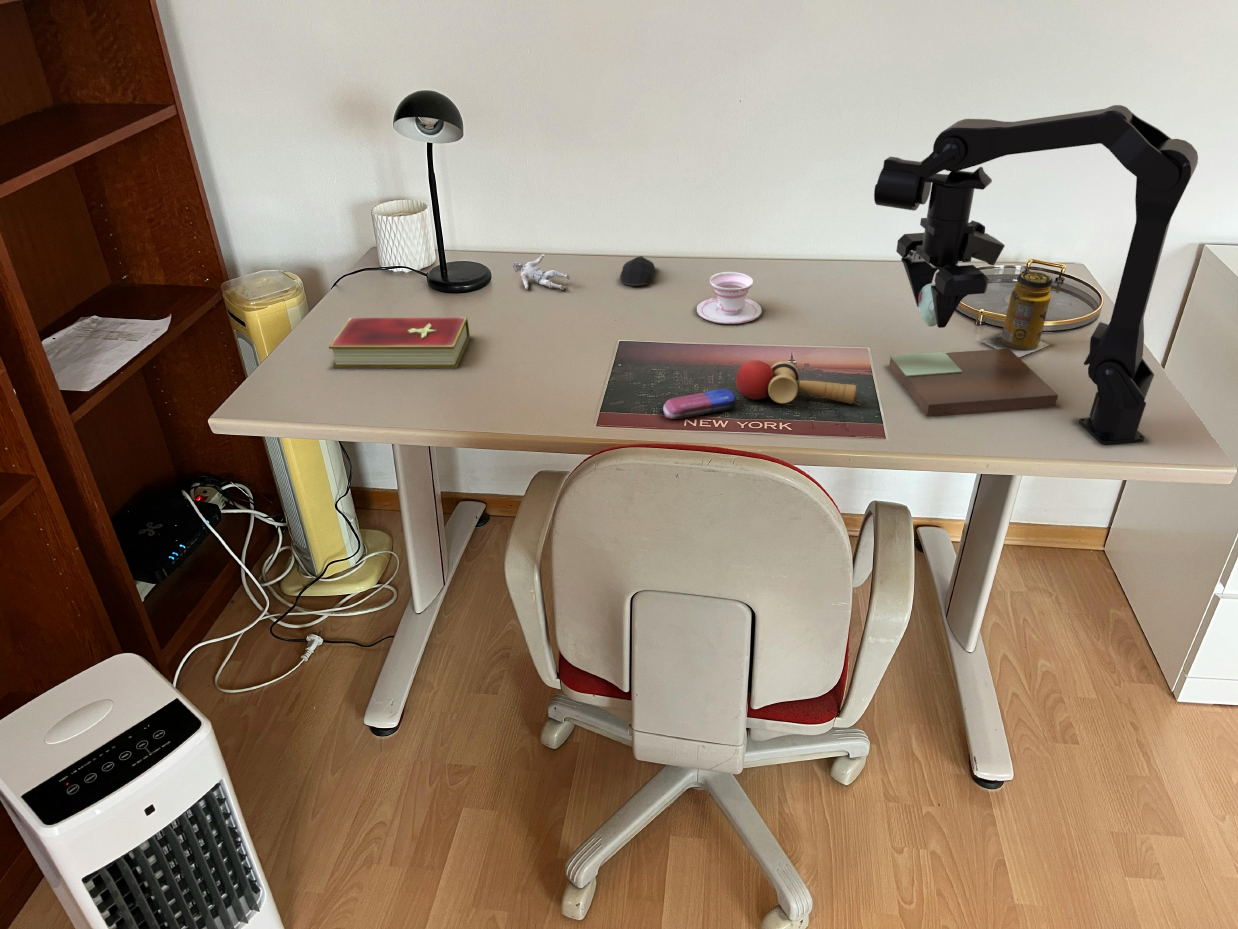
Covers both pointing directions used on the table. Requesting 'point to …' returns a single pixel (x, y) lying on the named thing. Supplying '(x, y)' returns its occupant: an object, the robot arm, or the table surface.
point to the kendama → (786, 383)
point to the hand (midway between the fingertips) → (931, 316)
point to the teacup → (729, 300)
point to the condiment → (1025, 315)
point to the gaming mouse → (637, 272)
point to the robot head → (927, 305)
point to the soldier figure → (538, 274)
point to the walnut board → (971, 382)
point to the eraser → (699, 404)
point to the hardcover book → (400, 343)
